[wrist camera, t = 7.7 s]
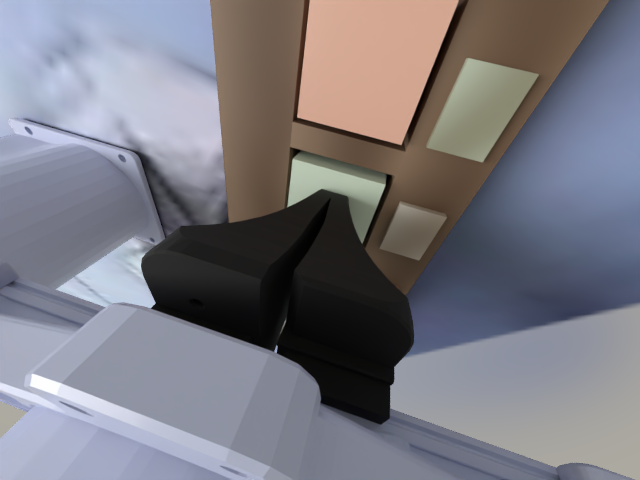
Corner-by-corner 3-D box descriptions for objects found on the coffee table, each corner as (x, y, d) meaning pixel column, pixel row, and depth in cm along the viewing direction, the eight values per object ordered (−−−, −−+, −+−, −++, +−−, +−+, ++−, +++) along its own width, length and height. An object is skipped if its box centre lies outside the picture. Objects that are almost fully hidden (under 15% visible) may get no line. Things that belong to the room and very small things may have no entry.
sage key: (300, 206, 14) (284, 232, 12) (310, 141, 12) (292, 159, 10) (363, 225, 14) (357, 254, 12) (386, 161, 12) (385, 184, 9)
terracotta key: (315, 106, 11) (297, 117, 9) (334, -18, 8) (314, -46, 6) (399, 128, 11) (401, 144, 8) (445, 6, 8) (464, -14, 6)
